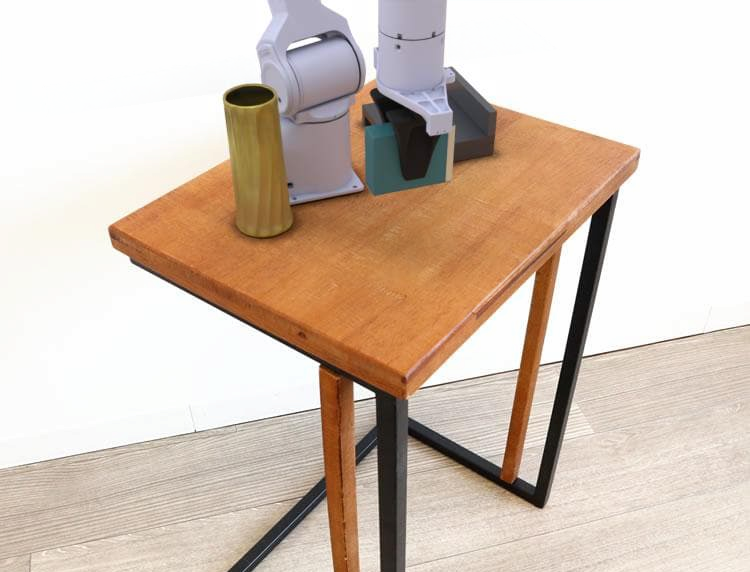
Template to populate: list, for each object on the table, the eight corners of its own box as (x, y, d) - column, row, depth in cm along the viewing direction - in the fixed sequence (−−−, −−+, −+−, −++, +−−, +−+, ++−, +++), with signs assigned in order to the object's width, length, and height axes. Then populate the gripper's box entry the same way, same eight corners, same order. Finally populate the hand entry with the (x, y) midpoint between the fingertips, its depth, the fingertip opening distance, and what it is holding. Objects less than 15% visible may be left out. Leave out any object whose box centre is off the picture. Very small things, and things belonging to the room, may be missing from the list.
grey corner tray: (398, 173, 97) (399, 128, 93) (362, 123, 106) (361, 81, 102) (493, 154, 100) (497, 111, 96) (450, 107, 109) (452, 66, 105)
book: (452, 181, 82) (455, 124, 78) (373, 196, 80) (373, 139, 76) (441, 168, 84) (444, 112, 79) (365, 183, 82) (364, 126, 78)
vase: (224, 228, 89) (204, 100, 79) (258, 201, 93) (242, 76, 83) (272, 244, 87) (257, 115, 77) (304, 215, 91) (294, 89, 81)
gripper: (491, 53, 67) (477, 200, 77) (424, -8, 77) (419, 128, 87) (408, 66, 66) (405, 215, 75) (351, 1, 76) (354, 140, 85)
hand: (408, 169), depth 81 cm, fingers closed on book, 2 cm apart
